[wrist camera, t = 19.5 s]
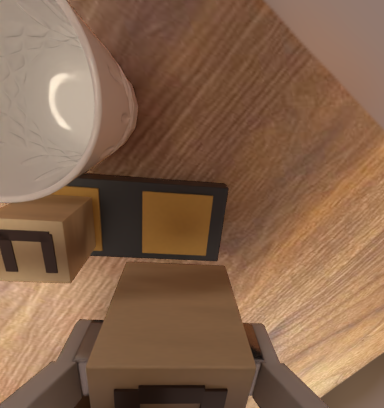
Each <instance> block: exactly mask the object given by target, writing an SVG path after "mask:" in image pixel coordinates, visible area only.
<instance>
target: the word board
mask: <svg viewBox="0 0 384 408" xmlns="http://www.w3.org/2000/svg"><path fill="white" fill-rule="evenodd" d="M51 195H67V196H83V197H92V206H93V218H94V230H95V242H96V247H95V249H94V250H93V252H92V253H91V255H90V256H110V257H133V258H156V259H179V260H201V261H217V260H218V254H219V248H220V241H221V235H222V228H223V221H224V215H225V208H226V202H227V195H228V187H227V186H226V185H225V184H223V183H209V182H195V181H181V180H167V179H153V178H139V177H125V176H111V175H97V174H82V175H81V176H79V177H78V178H76V179H75V180H73V181H72V182H70V183H69V184H67V185H66V186H64V187H63V188H61V189H60V190H58V191H56V192H54V193H52V194H51Z"/></svg>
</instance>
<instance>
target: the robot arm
mask: <svg viewBox="0 0 384 408" xmlns="http://www.w3.org/2000/svg"><path fill="white" fill-rule="evenodd" d="M103 321H104V320H86V319H80V320H79V321H78V322H77V323H76V324H75V326H74V328H73V330H72V332H71V334H70V336H69V338H68V340H67V341H66V343H65V345H64V347H63V349H62V351H61V353H60V355H59V357H58V359H57V360H56V361H52V362H50V363H49V364H48V365H47V366H46V367H44V368H43V369H42V370H41V371H40V372H38V373H37V374H36V375H35V376H33V377H32V378H31V379H30V380H29V381H27V382H26V383H25V384H24V385H23V386H21V387H20V388H19V389H18V390H16V391H15V392H14V393H13V394H12V395H10V396H9V397H8V398H7V399H6V400H4V401H3V402H2V403H1V404H0V408H74V407H75V406H76V405H77V403H78V402H79V401H80V400H81V398H82V396H89V390H88V382H87V374H86V364H87V362H88V359H89V357H90V354H91V352H92V349H93V347H94V344H95V341H96V339H97V336H98V334H99V331H100V329H101V326H102V324H103ZM243 326H244V329H245V332H246V336H247V339H248V342H249V345H250V349H251V352H252V355H253V358H254V361H255V365H256V371H255V375H254V379H253V382H252V386H251V389H250V393H249V396H252V397H253V399H254V400H255V402H256V403H257V405H258V406H259V407H260V408H329V407H328V406H327V405H326V404H325V403H324V402H323V401H322V400H321V399H320V398H319V397H318V396H317V395H316V394H315V393H314V392H313V391H312V390H311V389H310V388H309V387H308V386H307V385H306V384H305V383H303V382H302V381H301V380H300V379H299V378H298V377H297V376H296V375H295V374H294V373H293V372H292V371H291V370H290V369H289V368H288V367H287V366H286V365H285V364H284V363H280V362H279V360H278V357H277V355H276V352H275V350H274V348H273V345H272V343H271V341H270V338H269V336H268V333H267V331H266V329H265V326H264V325H263V324H259V323H243Z"/></svg>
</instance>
